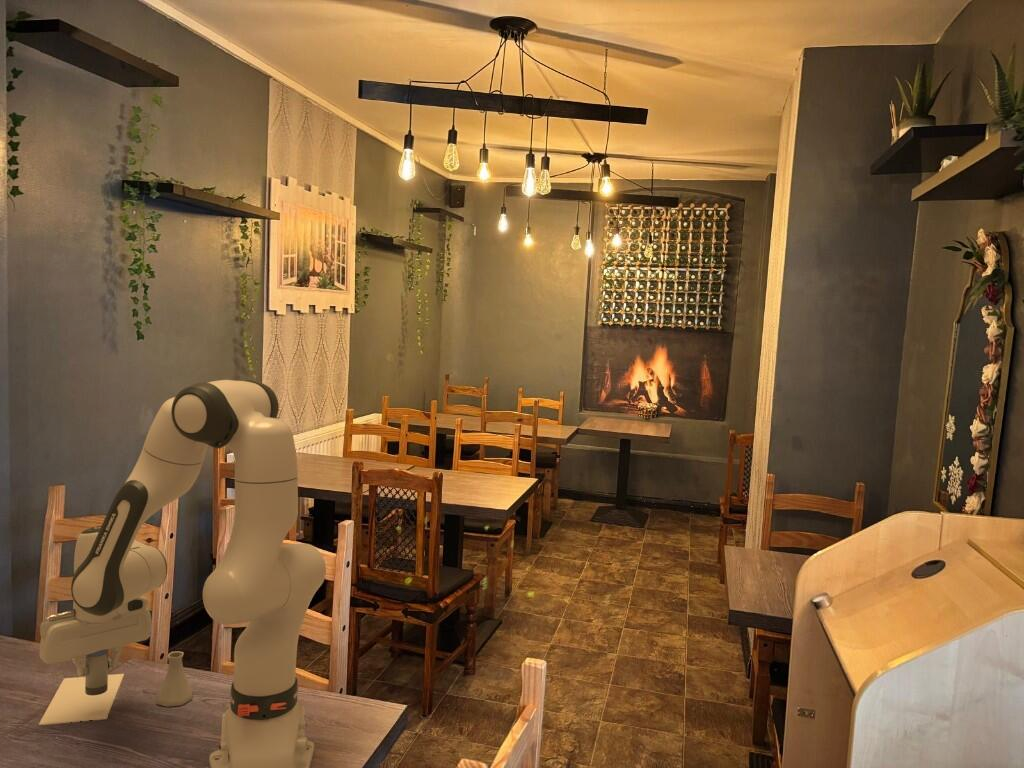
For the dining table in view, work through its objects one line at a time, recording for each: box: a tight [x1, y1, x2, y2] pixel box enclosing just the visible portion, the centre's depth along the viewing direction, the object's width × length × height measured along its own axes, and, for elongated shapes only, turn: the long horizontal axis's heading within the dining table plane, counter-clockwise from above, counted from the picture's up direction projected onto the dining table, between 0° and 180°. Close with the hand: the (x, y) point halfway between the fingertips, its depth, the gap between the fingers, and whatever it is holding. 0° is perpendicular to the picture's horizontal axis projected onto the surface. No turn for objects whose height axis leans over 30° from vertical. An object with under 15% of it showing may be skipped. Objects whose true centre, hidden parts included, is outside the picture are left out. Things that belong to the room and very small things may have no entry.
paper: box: [38, 673, 125, 726], centre depth 163 cm, size 20×12×1 cm, turn 18°
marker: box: [84, 649, 110, 695], centre depth 156 cm, size 4×4×9 cm
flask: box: [156, 650, 194, 708], centre depth 164 cm, size 7×7×10 cm
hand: (97, 671), depth 156 cm, fingers closed on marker, 4 cm apart
